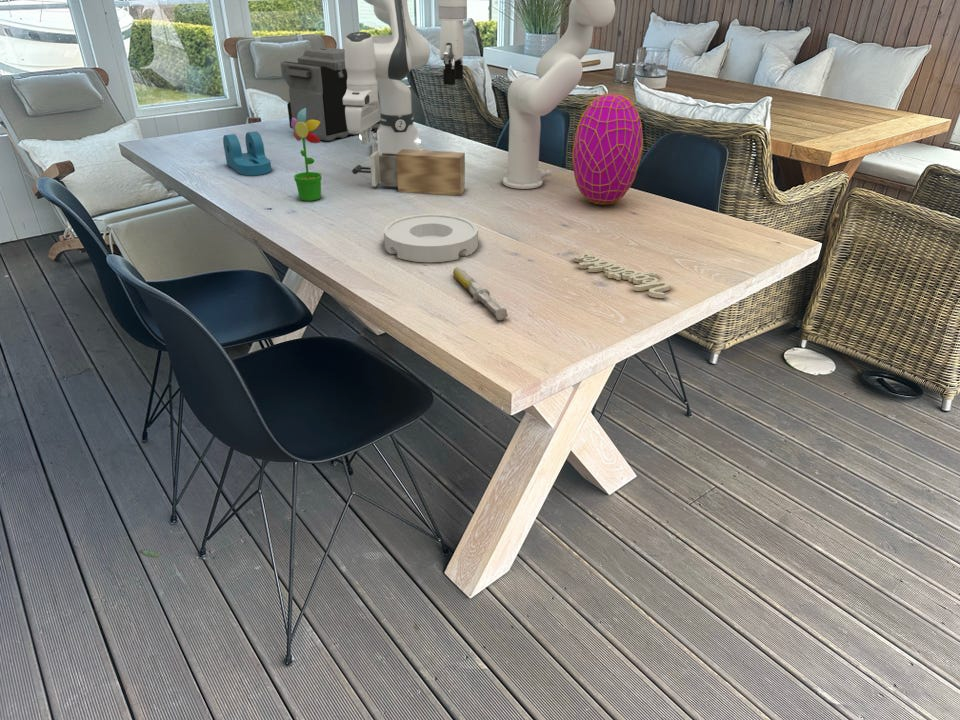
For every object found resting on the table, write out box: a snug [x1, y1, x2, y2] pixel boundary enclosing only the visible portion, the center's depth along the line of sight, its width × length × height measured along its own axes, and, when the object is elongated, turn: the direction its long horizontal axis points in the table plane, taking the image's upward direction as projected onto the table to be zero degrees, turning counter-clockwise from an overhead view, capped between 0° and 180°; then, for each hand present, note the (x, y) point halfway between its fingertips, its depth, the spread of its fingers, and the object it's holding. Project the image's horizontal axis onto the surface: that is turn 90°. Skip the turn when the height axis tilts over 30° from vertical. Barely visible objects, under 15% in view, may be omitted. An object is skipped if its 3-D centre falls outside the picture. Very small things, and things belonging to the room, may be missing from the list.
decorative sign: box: [574, 252, 671, 299], centre depth 155 cm, size 26×1×10 cm
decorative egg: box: [571, 92, 644, 205], centre depth 194 cm, size 19×19×30 cm
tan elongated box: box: [396, 149, 466, 196], centre depth 208 cm, size 20×6×11 cm, turn 79°
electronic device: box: [279, 47, 380, 142], centre depth 271 cm, size 37×22×30 cm, turn 144°
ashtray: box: [383, 213, 479, 263], centre depth 170 cm, size 23×23×4 cm
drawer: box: [351, 151, 398, 187], centre depth 209 cm, size 25×5×9 cm, turn 79°
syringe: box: [452, 266, 509, 321], centre depth 145 cm, size 25×4×3 cm, turn 21°
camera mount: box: [222, 131, 272, 176], centre depth 226 cm, size 18×10×10 cm, turn 35°
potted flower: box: [291, 108, 323, 202], centre depth 196 cm, size 9×8×25 cm
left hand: (366, 142), depth 207 cm, fingers closed
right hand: (453, 81), depth 194 cm, fingers open, 9 cm apart
